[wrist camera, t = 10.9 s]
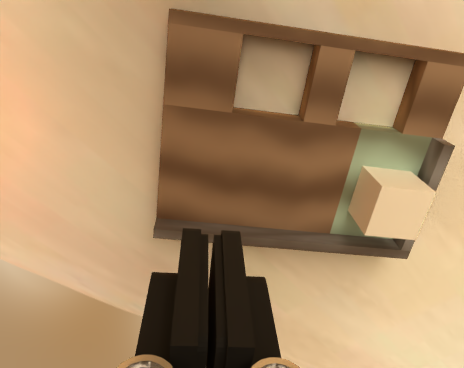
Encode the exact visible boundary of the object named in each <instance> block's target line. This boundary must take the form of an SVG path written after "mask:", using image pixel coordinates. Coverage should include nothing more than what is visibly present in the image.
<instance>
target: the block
mask: <svg viewBox="0 0 464 368" xmlns="http://www.w3.org/2000/svg"><path fill="white" fill-rule="evenodd" d="M435 195H436V192H435V191H434V190H433V189H432V188H430V187H429V186H428V185H427V184H425V183H424V182H423V181H422V180H421V179H419V178H418V177H417V176H416V175H415V174H413V173H412V172H411V171H403V170H395V169H386V168H378V167H370V166H362V169H361V172H360V175H359V178H358V181H357V184H356V187H355V190H354V193H353V196H352V199H351V202H350V205H349V209H348V211H349V213H350V214H351V216H352V217H353V219H354V220H355V222H356V223H357V225H358V226H359V228H360V229H361V231H362V232H363V234H364V235H367V236H377V237H388V238H398V239H408V240H416V238H417V236H418V234H419V232H420V229H421V227H422V225H423V222H424V220H425V218H426V215H427V213H428V211H429V209H430V206H431V204H432V202H433V199H434V197H435Z"/></svg>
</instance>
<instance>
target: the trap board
mask: <svg viewBox="0 0 464 368" xmlns="http://www.w3.org/2000/svg"><path fill="white" fill-rule="evenodd" d="M243 34H247V35H254V36H260V37H267V38H274V39H281V40H287V41H294V42H301V43H307V44H314V49H313V53H312V58H311V62H310V67H309V71H308V76H307V80H306V85H305V89H304V94H303V98H302V103H301V107H300V112H299V116H298V115H290V114H282V113H274V112H266V111H258V110H250V109H242V108H234V107H233V103H234V96H235V89H236V82H237V75H238V68H239V61H240V54H241V47H242V40H243ZM355 51H361V52H368V53H375V54H382V55H388V56H395V57H402V58H409V59H415V63H414V66H413V69H412V72H411V75H410V78H409V81H408V84H407V87H406V90H405V93H404V96H403V99H402V102H401V105H400V107H399V110H398V113H397V116H396V119H395V122H394V125H393V127H386V126H378V125H370V124H362V123H354V122H346V121H338V120H337V118H338V114H339V110H340V107H341V103H342V99H343V96H344V92H345V88H346V85H347V81H348V77H349V73H350V70H351V66H352V62H353V59H354V55H355ZM463 86H464V53H459V52H452V51H446V50H439V49H432V48H426V47H419V46H413V45H406V44H400V43H393V42H387V41H380V40H374V39H367V38H360V37H354V36H347V35H341V34H334V33H328V32H321V31H315V30H308V29H302V28H295V27H288V26H282V25H275V24H269V23H262V22H256V21H249V20H243V19H236V18H230V17H223V16H216V15H210V14H203V13H197V12H190V11H184V10H177V9H169V20H168V36H167V53H166V69H165V86H164V102H163V119H162V135H161V152H160V168H159V185H158V201H157V218H156V222H155V226H154V234H153V238H160V239H172V240H182V231H183V228H194V229H201V234H208V243H213V238H214V235H221V230H230V231H240V234H241V242H242V245H245V246H257V247H269V248H281V249H293V250H305V251H317V252H329V253H341V254H353V255H365V256H377V257H389V258H401V259H407V258H408V256H409V253H410V251H411V248H412V246H413V244H414V241H415V240H408V239H398V238H388V237H377V236H367V235H364V234H363V232H362V231H361V229H360V228H359V226H358V225H357V223H356V222H355V220H354V219H353V217H352V216H351V214H350V213H349V211H348V209H349V205H350V202H351V199H352V196H353V193H354V190H355V187H356V184H357V181H358V178H359V175H360V172H361V169H362V166H370V167H378V168H386V169H395V170H403V171H411V172H412V173H413V174H415V175H416V176H417V177H418V178H419V179H421V180H422V181H423V182H424V183H425V184H427V185H428V186H429V187H430V188H432V189H433V190H434V191H435V192H436V190H437V187H438V185H439V182H440V180H441V178H442V175H443V173H444V171H445V168H446V166H447V164H448V161H449V159H450V157H451V154H452V152H453V149H454V147H455V146H454V145H452V144H450V143H449V142H447V141H445V140H444V139H442V138H443V136H444V133H445V131H446V128H447V126H448V123H449V121H450V118H451V116H452V113H453V111H454V108H455V106H456V103H457V101H458V98H459V96H460V94H461V91H462V89H463Z"/></svg>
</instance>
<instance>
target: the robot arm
mask: <svg viewBox="0 0 464 368" xmlns="http://www.w3.org/2000/svg"><path fill="white" fill-rule="evenodd" d="M116 368H300V367H299V366H297V365H296V364H294V363H292V362H291V361H289V360H286V359H282V358H281V354H280V349H279V344H278V339H277V334H276V329H275V324H274V319H273V314H272V308H271V303H270V298H269V293H268V288H267V283H266V279H265V278H264V277H250V276H246V273H245V265H244V257H243V249H242V242H241V234H240V231H230V230H221V235H214V238H213V248H212V258H211V267H210V277H209V287H208V234H201V229H194V228H183V231H182V240H181V249H180V259H179V268H178V273H159V272H152V275H151V279H150V284H149V289H148V294H147V299H146V304H145V309H144V314H143V319H142V324H141V329H140V334H139V339H138V344H137V349H136V354H135V357H131V358H129V359H128V360H126V361H124V362H122V363H121V364H120V365H119V366H118V367H116Z"/></svg>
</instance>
